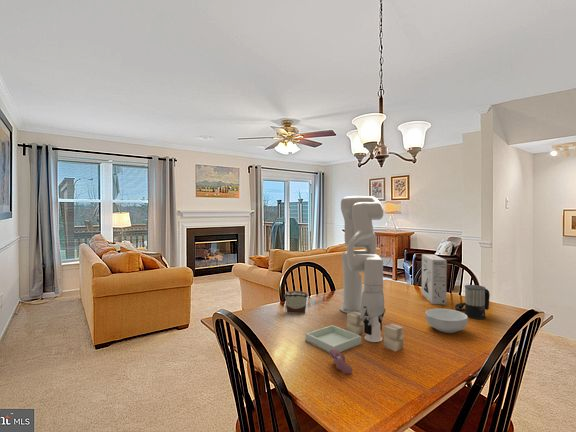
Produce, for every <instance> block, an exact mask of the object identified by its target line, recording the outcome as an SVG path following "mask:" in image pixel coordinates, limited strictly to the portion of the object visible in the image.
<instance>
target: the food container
mask: <svg viewBox="0 0 576 432" xmlns="http://www.w3.org/2000/svg"><path fill="white" fill-rule="evenodd" d="M283 295H284V297H283V298H285V307H286V308H285V309H286V313H287V314H303V315H304V314H306V310H307V309H306V307H307V301H308V300H307V299H308V298H309V296H308V293H307V292H305V291H302V290H291V291H285V294H283Z"/></svg>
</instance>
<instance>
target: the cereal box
mask: <svg viewBox="0 0 576 432" xmlns="http://www.w3.org/2000/svg"><path fill="white" fill-rule="evenodd" d="M447 263H448V261H447V259H445V258H442V257H441V256H438V255H436V254H431V253H430V254H428V253H427V254H424V253H423V254H421V295H422V296H423V297H424V298H425V299H426V300H427V301H428V302H430V304H431V305H445V306H447V277H448V276H447V271H448V270H447V265H448V264H447Z"/></svg>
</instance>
